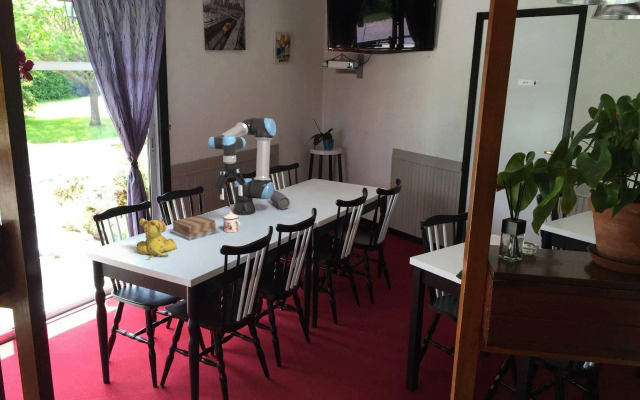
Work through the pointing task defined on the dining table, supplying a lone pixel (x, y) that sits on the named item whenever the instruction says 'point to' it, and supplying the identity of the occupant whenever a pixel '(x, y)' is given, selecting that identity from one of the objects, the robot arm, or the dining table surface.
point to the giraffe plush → (155, 239)
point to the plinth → (194, 227)
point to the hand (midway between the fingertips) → (231, 197)
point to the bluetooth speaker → (280, 200)
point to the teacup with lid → (231, 223)
